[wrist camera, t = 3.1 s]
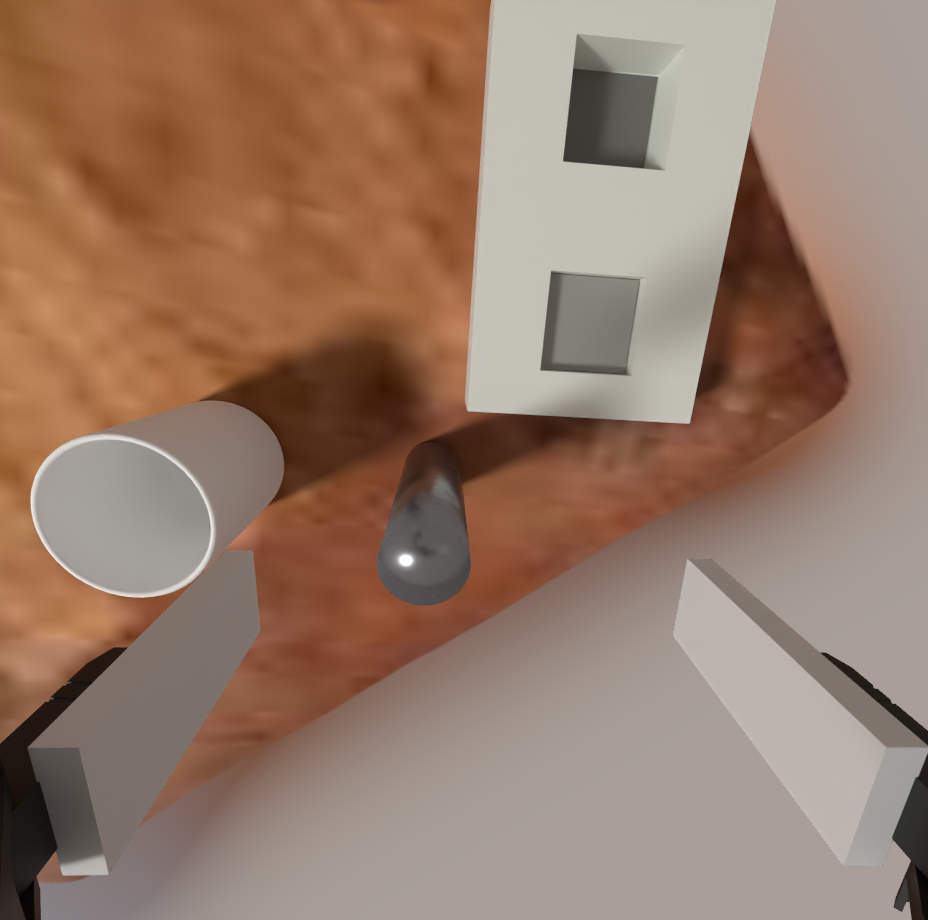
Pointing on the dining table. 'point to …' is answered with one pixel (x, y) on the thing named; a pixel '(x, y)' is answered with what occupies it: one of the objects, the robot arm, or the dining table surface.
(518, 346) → the bore block
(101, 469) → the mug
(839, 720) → the robot arm
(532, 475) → the dining table surface
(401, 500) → the steel pin
